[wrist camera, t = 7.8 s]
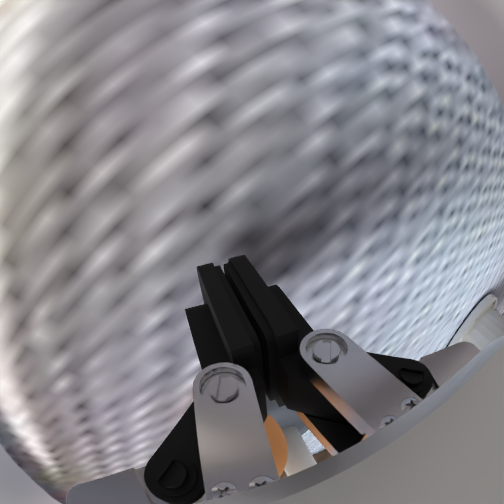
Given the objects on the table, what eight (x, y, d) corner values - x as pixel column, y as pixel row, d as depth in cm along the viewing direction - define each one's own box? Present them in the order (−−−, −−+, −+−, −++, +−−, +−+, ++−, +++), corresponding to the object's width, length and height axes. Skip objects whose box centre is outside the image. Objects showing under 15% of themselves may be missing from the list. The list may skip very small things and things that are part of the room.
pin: (296, 420, 19) (350, 510, 12) (295, 432, 20) (343, 514, 13) (267, 431, 18) (317, 526, 11) (268, 442, 20) (313, 527, 12)
